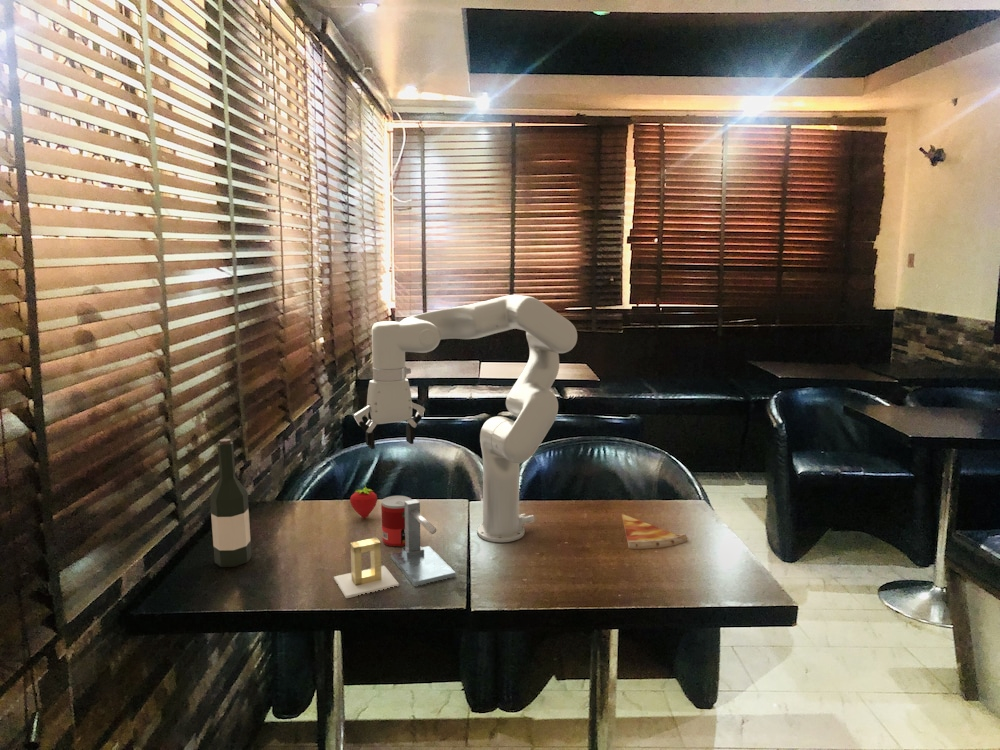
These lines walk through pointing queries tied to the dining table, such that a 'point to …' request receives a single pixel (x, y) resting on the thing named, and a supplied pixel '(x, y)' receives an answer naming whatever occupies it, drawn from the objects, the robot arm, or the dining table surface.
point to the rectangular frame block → (375, 556)
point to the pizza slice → (648, 535)
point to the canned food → (393, 520)
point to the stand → (419, 551)
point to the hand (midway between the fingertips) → (390, 445)
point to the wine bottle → (229, 513)
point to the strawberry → (363, 501)
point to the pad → (352, 590)
